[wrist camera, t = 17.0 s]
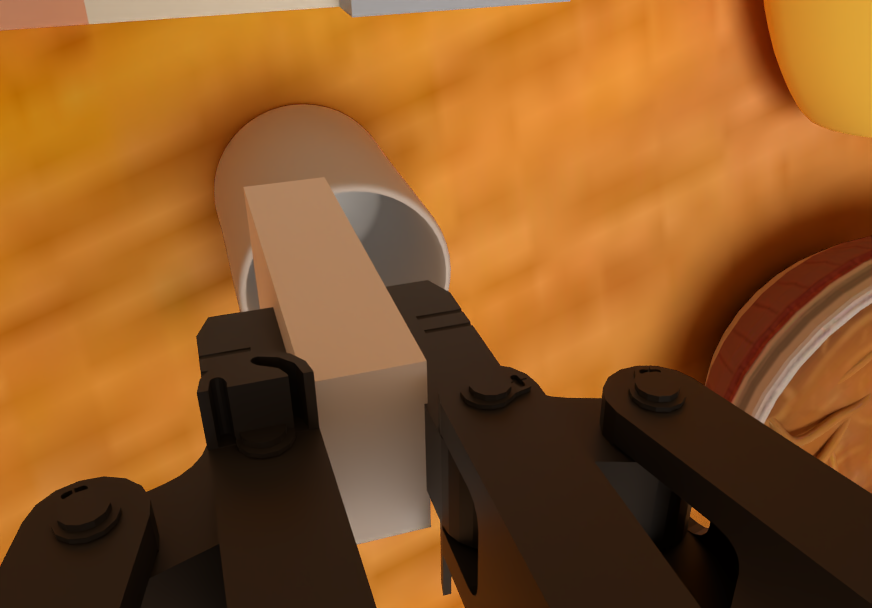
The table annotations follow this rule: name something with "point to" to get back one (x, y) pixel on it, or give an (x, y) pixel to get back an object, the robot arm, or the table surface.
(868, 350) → the bowl
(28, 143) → the table surface
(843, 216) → the table surface
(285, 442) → the robot arm
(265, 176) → the mug
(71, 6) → the deck
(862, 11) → the teapot
